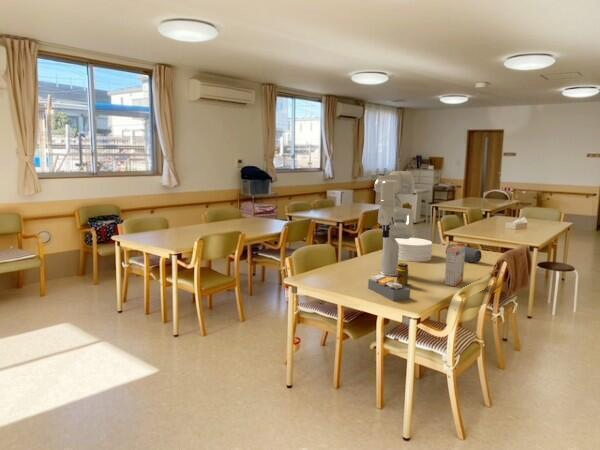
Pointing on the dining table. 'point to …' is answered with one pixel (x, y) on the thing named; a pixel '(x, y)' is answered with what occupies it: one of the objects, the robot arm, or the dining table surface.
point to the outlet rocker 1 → (378, 277)
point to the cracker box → (454, 265)
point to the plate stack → (414, 249)
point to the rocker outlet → (394, 285)
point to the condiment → (402, 274)
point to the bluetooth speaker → (469, 254)
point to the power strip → (389, 291)
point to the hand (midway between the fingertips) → (385, 237)
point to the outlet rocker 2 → (385, 281)
